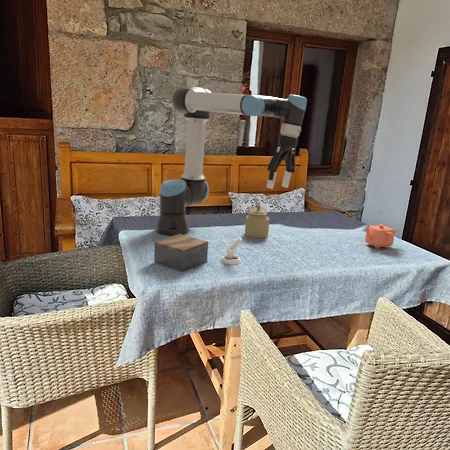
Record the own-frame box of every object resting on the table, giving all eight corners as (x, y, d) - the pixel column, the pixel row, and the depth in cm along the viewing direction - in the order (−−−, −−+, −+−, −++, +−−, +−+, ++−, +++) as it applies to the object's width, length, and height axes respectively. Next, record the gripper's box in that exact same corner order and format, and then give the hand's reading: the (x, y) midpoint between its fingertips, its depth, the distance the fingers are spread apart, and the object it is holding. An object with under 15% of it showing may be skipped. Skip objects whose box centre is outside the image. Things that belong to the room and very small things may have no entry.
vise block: (154, 262, 156) (154, 241, 154) (179, 253, 167) (179, 233, 165) (182, 271, 148) (183, 250, 146) (207, 261, 160) (208, 241, 157)
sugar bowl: (235, 230, 202) (237, 200, 198) (254, 228, 208) (256, 198, 204) (253, 239, 190) (255, 207, 186) (272, 236, 196) (275, 205, 192)
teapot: (368, 240, 199) (371, 219, 196) (394, 245, 193) (398, 223, 190) (361, 247, 187) (364, 225, 184) (389, 253, 181) (392, 230, 178)
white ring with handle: (254, 253, 157) (240, 243, 154) (234, 274, 160) (219, 265, 158) (251, 242, 163) (238, 233, 161) (232, 263, 167) (218, 254, 164)
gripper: (283, 135, 155) (271, 191, 160) (310, 139, 175) (298, 188, 181) (266, 131, 159) (254, 186, 164) (294, 136, 179) (282, 184, 185)
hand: (277, 187), depth 172 cm, fingers open, 13 cm apart
